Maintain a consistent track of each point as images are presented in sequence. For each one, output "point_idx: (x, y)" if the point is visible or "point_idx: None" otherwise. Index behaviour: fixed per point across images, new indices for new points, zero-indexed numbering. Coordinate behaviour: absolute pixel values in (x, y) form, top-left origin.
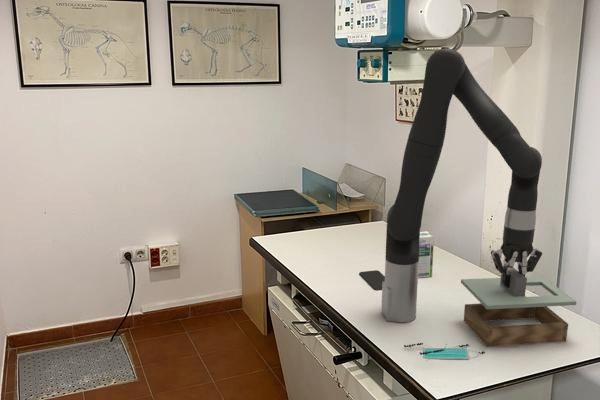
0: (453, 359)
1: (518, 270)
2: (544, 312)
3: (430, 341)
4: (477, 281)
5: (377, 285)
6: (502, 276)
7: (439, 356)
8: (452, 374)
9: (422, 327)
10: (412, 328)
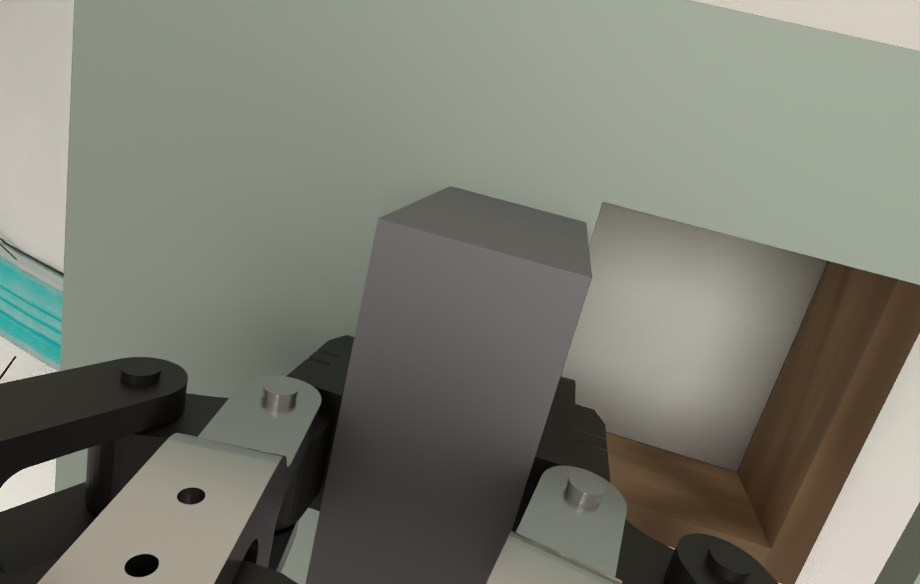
0: None
1: (554, 466)
2: (856, 323)
3: (51, 189)
4: (239, 3)
5: None
6: (291, 374)
7: (28, 344)
8: (38, 467)
9: (66, 19)
10: (10, 9)
